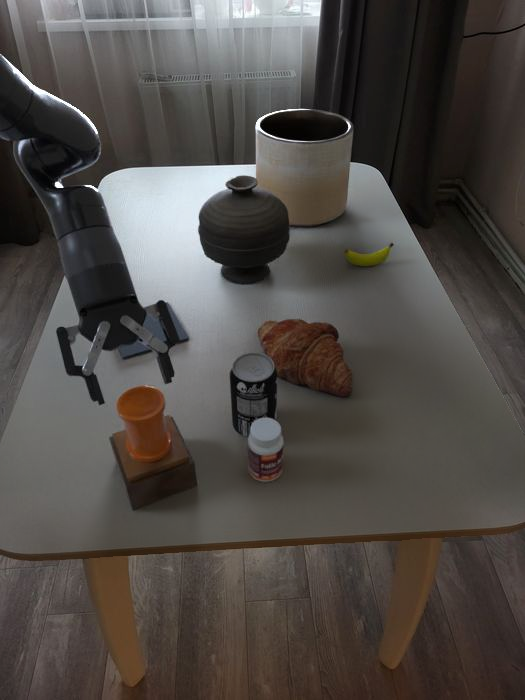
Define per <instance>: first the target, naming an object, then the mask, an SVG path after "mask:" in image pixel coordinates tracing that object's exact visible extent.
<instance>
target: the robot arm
mask: <svg viewBox="0 0 525 700" xmlns="http://www.w3.org/2000/svg"><path fill="white" fill-rule="evenodd" d="M0 139H1V140H2V139H3V140H5V141H8V142H9V141H10V142H12V153H13V157H14V161H15V163H16V164H17V166H18V168H19V170H20V171H21V173H22V174H23V175H24V177H25V179H26V180H27V181H28V183H29V184H30V186H31V187H32V189H33V190H34V192H35V194H36V196H37V197H38V198H39V200H40V202H41V204H42V205H43V207H44V210H45V211H46V213H47V215H48V218H49V221H50V224H51V227H52V230H53V233H54V236H55V239H56V243H57V246H58V251H59V256H60V261H61V265H62V268H63V275H64V277H65V278H66V280H67V284H68V287H69V290H70V294H71V297H72V300H73V302H74V306H75V309H76V312H77V315H78V320H79V321H78V324H76V325H73V326H72V325H71V326H68V327H65V326H58V327H57V328H56V330H55V333H56V338H57V342H58V345H59V350H60V353H61V358H62V362H63V366H64V369H65V373H66V375H67V376H69V377H81V378H82V379H84V382H85V385H86V388H87V392H88V394H89V399H91V401H92V402H93V403H94V402H97V403H98V406H102V405H105V404H106V401H105V399H104V395H103V392H102V389H101V385H100V383H99V380H98V377H97V374H95V373H94V370H95V368H96V365H97V363H98V361H99V357H100V355H101V352H102V351H104V352H113V351H116V350H117V349H118V348H119V347H125V346H130V345H133V344H134V343H135V342H136V341H139V342H140V343H142V344H143V345H145V346H147V347H148V348H150V349H151V350H153V351H152V352H154V353H156V358H155V359H156V362H157V365H158V368H159V371H160V374H161V377H162V380H163V383H164V385H169V384H171V383H172V382H173V380H172V378H174V377H175V374H176V373H175V370H174V366H173V364H172V363H173V362H172V359H171V357H170V350H171V349H173V348H174V347H175V346H176V345H178V344H180V343H179V341H180V338H179V336H178V333H177V331H176V328H175V326H174V323H173V320H172V318H171V315H170V313H169V310H168V308H167V305H166V301H165V300H163V299H159V300H158V301H156V303H152V304H151V305H146V306H143V305H142V304H141V303H140V301H139V299H138V295H137V291H136V289H135V286H134V283H133V280H132V277H131V274H130V270H129V267H128V264H127V262H126V258H125V256H124V252H123V249H122V246H121V244H120V241H119V239H118V237H117V235H116V233H115V230H114V227H113V225H112V221H111V218H110V216H109V215H110V214H109V212H108V208H107V205H106V202H105V200H104V197H103V195H102V193H101V192H100V190H99V189H97V188H96V187H94V186H92V185H88V184H87V185H86V184H81V185H80V184H77V185H70V186H64V185H63V183H62V179H64V178H66V177H69V176H71V175H73V174H75V173H78V172H80V171H83V170H85V169H88V168H89V167H91V166H93V165H94V164H95V163H97V161H98V160H99V158H100V157H101V153H102V142H101V137H100V135H99V132H98V130H97V129H96V127H95V125H94V124H93V122H92V121H91V120H90V119H89V118H88V117H87V116H86V115H85V114H83V112H81V111H80V110H79V109H77V108H76V107H74V106H72V105H71V104H70V103H68V102H66V101H64V100H62V99H60V98H58V97H57V96H54V95H53V94H50V93H49V92H47V91H46V90H43V89H41V88H39V87H37V86H35V85H33V84H32V83H31V81H29V80H28V79H27V78H26V77H25V76H24V75H23V74H22V73H21V72H20V71H19V69H17V68H16V67H15V66H14V65H13V64H12V63H11V62H10V61H8V60H7V58H5V57H4V56H3V55H2V54H1V53H0ZM146 315H150V316H151V317H152V318H153V319H154V320H156V321H158V320H159V322H160V325H161V327H162V330H163V332H164V335H165V338H166V341H164V342H162V341H160V340H159V339H157V338H156V337H155V336H154V335H153V334H152V333H150V332H149V331H147V330H146V329H145V328H143V324H144V321H145V318H146ZM78 335H80V336H82V337H83V338H85V339H86V340H88V341H89V342H90V343H91V347H90V349H89V352H88V354H87V357H86V360H85V362H84V365H77V364H76V363H75V358H74V355H73V350H72V346H73V345H74V344H75V343H76V341H77V336H78Z"/></svg>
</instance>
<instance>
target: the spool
mask: <svg viewBox="0 0 525 700" xmlns="http://www.w3.org/2000/svg"><path fill="white" fill-rule="evenodd" d="M165 409H166V398H165V396H164V394H163V392H162V391H161V390H160V389H158V388H157V387H155V386H149V385H138V386H135V387H132V388H129V389H128V390H126V391H124V392H123V393H122V394H121V395H119V398H118V399H117V401H116V411H117V414H118V417H119V418H120V419H121V420H122V422H123V425H124V430H125V429H126V433H127V437H128V439H127V442H126V447H127V451H128V453H129V455H130V456H131V457H132V458H133V459H134V460H136V461H139V462H153V461H157V460H159V459H161V458H162V457H164V456H165V455H166V454H167V453H168V452H169V450H170V448H171V445H172V439H171V435H170V432H169V431H168V430H167V429H166V423H165V417H164V416H165V412H164V411H165Z"/></svg>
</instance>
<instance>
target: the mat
mask: <svg viewBox="0 0 525 700" xmlns="http://www.w3.org/2000/svg"><path fill="white" fill-rule="evenodd" d="M165 303H166V305H167V308H168V310H169V313H170V315H171V318H172V320H173V323H174V326H175V328H176V331H177V333H178V336H179V338H180V341H179V343H178V344H180V343H184V342H187V341H190V337H189V334H188V333H187V331H186V330H185V328H184V327H183V325H182V322H180V320H179V318H178V317H177V315H176V313H175V311H174V310H173V308H172V307H171V305H170V303H169V302H168V301H167V302H166V301H165ZM143 328H145V329H146V330H147V331H149V332H150V333H152V334H153V335H154V336H155V337H156V338H157V339H159V340H160V341H162V342H164V341H166V338H165V335H164V332H163V330H162V327H161V325H160V322H159V320H158V321H156V320H154V319H153V318H152V317H151V316H150V315H146V318H145V321H144V324H143ZM117 349H118V352H119V355H120V357H121V358H122V360H126V359H129V358H133V357H136V356H137V357H138V356H141V355H143V354H147V353H150V352H154V351H153V350H151V349H150V348H148V347H147V346H145V345H143V344H142V343H140V342H139V341H136V342H135V343H134V344H133V345H130V346H125V347H119V348H117Z"/></svg>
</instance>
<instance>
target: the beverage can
mask: <svg viewBox="0 0 525 700" xmlns="http://www.w3.org/2000/svg"><path fill="white" fill-rule="evenodd" d="M229 388H230V404H231V405H230V407H231V423H232V427H233V429H234V431H235V432H236V433H237V434H238V435H240V436H241V437H244V438H246V439H248V437H249V435H250V428H251V425H252V423H253V422H254V421H256V420H257V419H260V418H271V419H274V420H276V421H277V417H278V416H277V413H278V411H277V410H278V409H277V408H278V378H277V370H276V368H275V367H274V363H273V361H272V359H271V358H270V357H269V356H267V355H266V354H265V353H261V352H256V351H255V352H251V351H250V352H245V353H243V354H241V355H240V354H239V356H237V357H236V358H235V359H234V360H233V362H232V366H231V369H230V371H229Z"/></svg>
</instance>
